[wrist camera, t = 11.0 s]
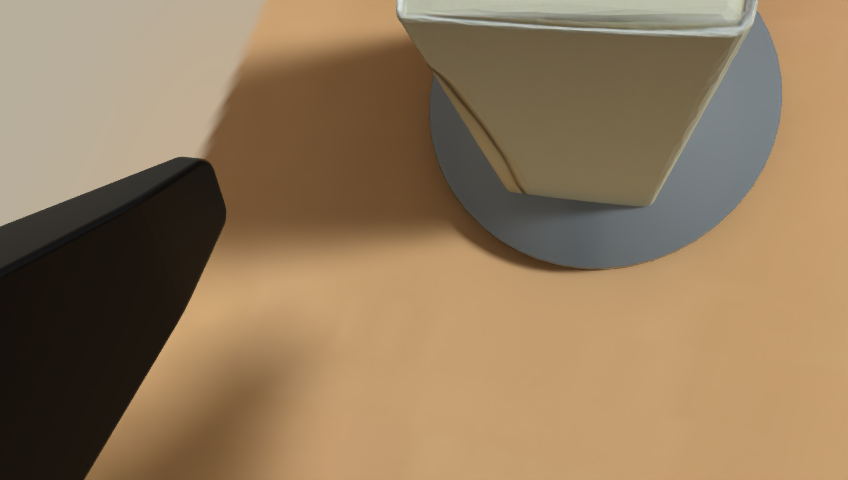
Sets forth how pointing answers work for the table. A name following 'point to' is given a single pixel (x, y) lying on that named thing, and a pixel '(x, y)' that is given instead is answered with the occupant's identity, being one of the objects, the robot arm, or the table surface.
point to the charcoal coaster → (622, 224)
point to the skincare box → (580, 85)
